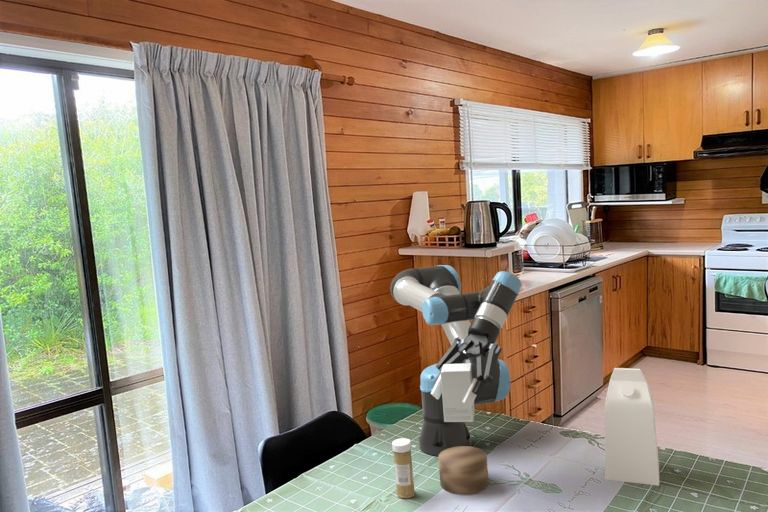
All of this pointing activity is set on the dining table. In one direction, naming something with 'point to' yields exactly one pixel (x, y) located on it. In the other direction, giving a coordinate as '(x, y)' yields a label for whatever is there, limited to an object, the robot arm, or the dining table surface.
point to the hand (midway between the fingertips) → (450, 400)
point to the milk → (630, 429)
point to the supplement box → (456, 392)
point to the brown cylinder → (463, 470)
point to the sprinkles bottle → (403, 468)
